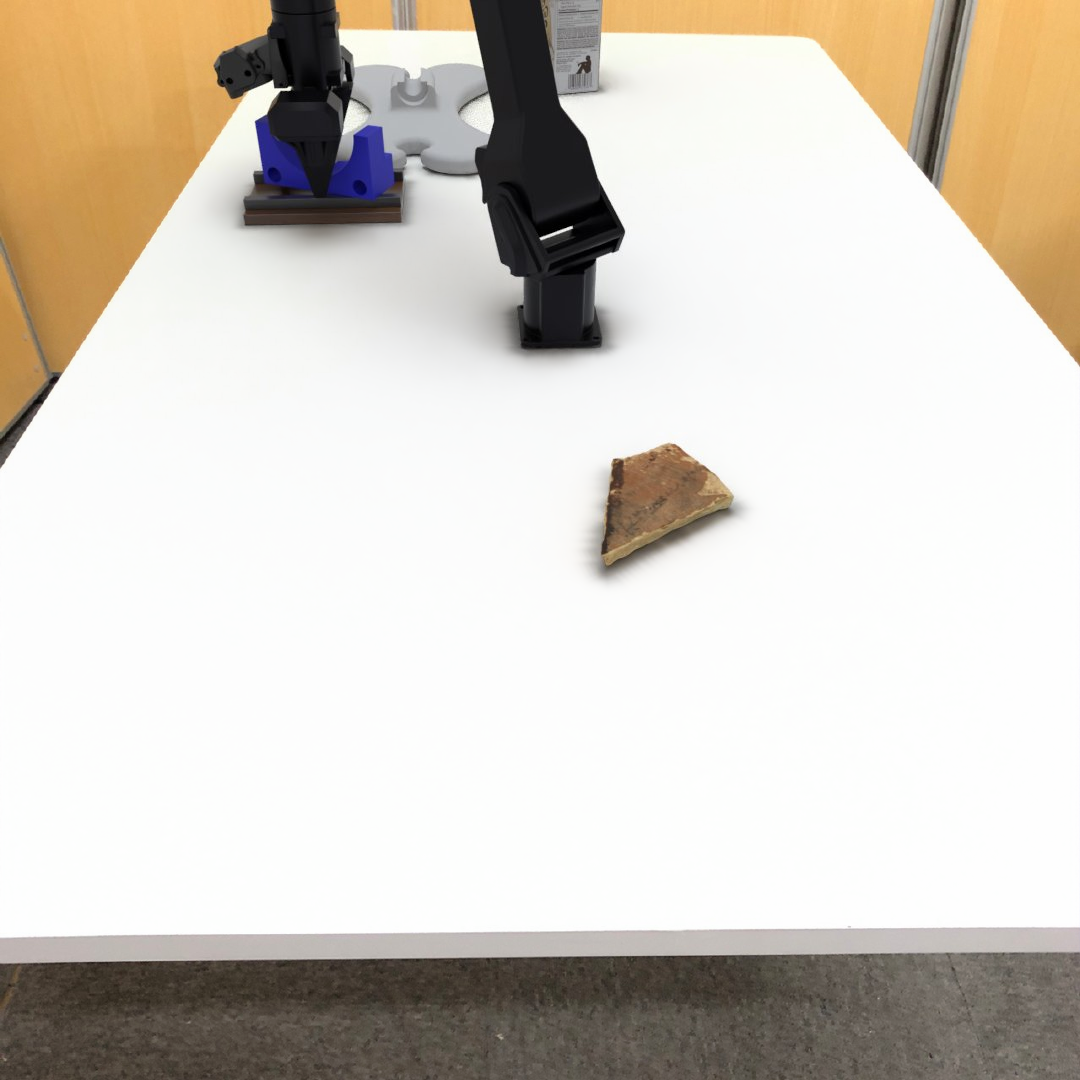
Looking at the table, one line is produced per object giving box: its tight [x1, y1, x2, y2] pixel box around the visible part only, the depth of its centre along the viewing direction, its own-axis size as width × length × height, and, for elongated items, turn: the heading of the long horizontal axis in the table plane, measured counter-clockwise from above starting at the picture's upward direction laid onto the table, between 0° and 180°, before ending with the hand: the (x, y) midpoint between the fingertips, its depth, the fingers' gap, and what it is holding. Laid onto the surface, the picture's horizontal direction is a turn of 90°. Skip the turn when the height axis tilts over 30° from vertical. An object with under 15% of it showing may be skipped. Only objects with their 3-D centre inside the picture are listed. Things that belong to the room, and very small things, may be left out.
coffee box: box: [541, 0, 604, 95], centre depth 131 cm, size 9×6×16 cm
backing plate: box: [242, 167, 406, 226], centre depth 105 cm, size 10×15×2 cm, turn 94°
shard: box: [600, 442, 735, 566], centre depth 68 cm, size 11×8×2 cm
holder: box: [335, 62, 490, 175], centre depth 123 cm, size 19×34×5 cm, turn 5°
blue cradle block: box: [254, 113, 394, 200], centre depth 103 cm, size 12×4×6 cm, turn 70°
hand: (324, 179), depth 104 cm, fingers open, 9 cm apart
